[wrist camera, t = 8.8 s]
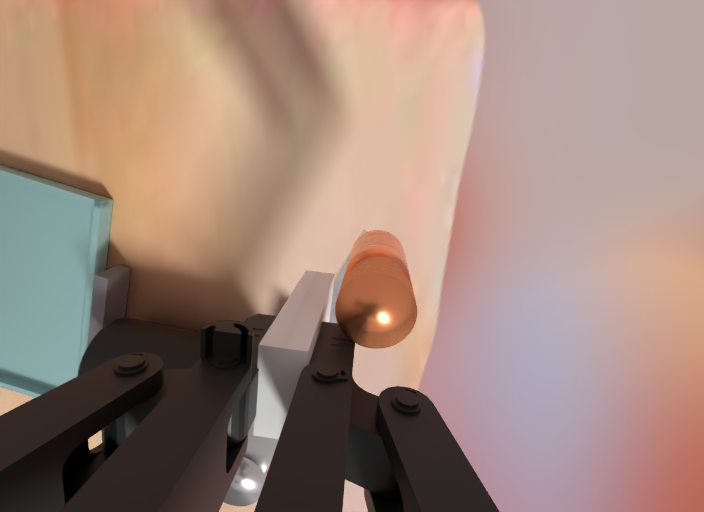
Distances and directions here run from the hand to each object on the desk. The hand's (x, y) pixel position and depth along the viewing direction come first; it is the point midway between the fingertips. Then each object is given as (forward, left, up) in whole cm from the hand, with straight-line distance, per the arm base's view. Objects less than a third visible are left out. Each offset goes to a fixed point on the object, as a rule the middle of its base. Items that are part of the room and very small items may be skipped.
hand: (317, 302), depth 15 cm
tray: (-12, +24, -11) cm, 29 cm away
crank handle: (-5, 0, -3) cm, 6 cm away
